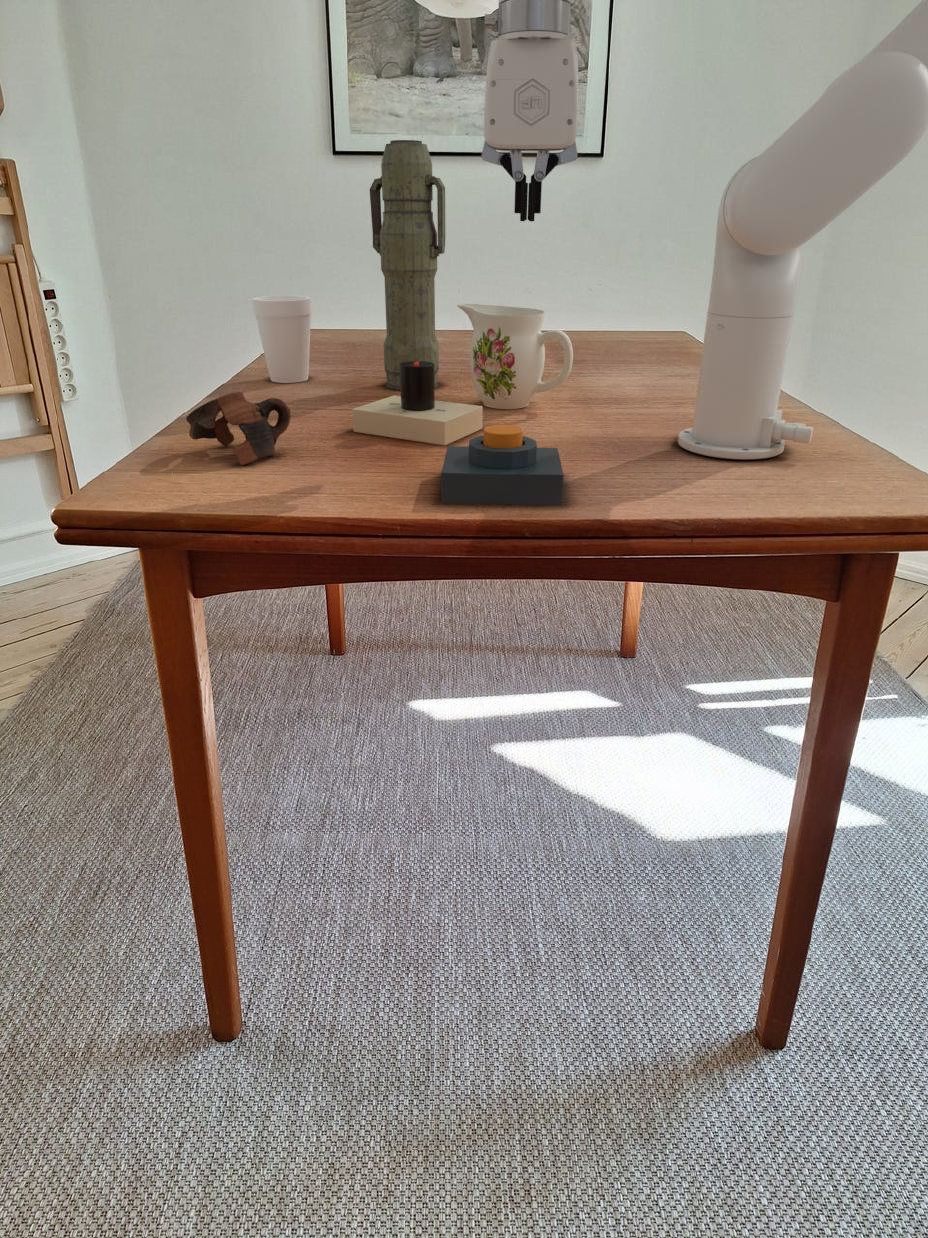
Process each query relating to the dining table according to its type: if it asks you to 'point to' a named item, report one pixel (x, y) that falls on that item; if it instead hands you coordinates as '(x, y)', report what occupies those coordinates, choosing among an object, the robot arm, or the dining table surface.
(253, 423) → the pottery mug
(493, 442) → the release button
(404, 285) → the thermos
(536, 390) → the pitcher
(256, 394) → the dining table surface
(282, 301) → the foam cup
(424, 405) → the dial
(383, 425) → the dial panel
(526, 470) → the button base
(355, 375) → the dining table surface
